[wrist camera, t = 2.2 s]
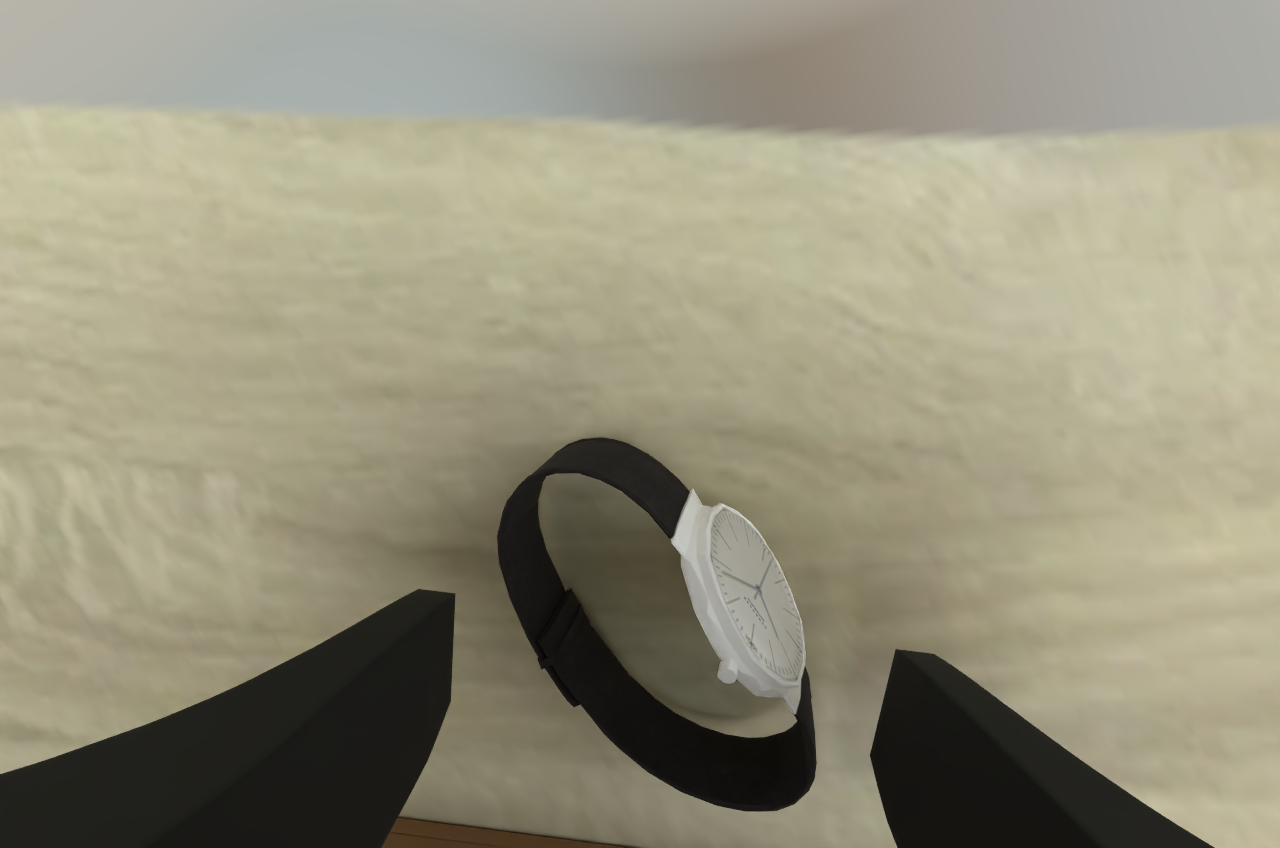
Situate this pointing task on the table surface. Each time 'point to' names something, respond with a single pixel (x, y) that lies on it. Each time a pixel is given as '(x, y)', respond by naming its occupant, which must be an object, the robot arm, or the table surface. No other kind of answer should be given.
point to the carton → (469, 837)
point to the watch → (726, 608)
